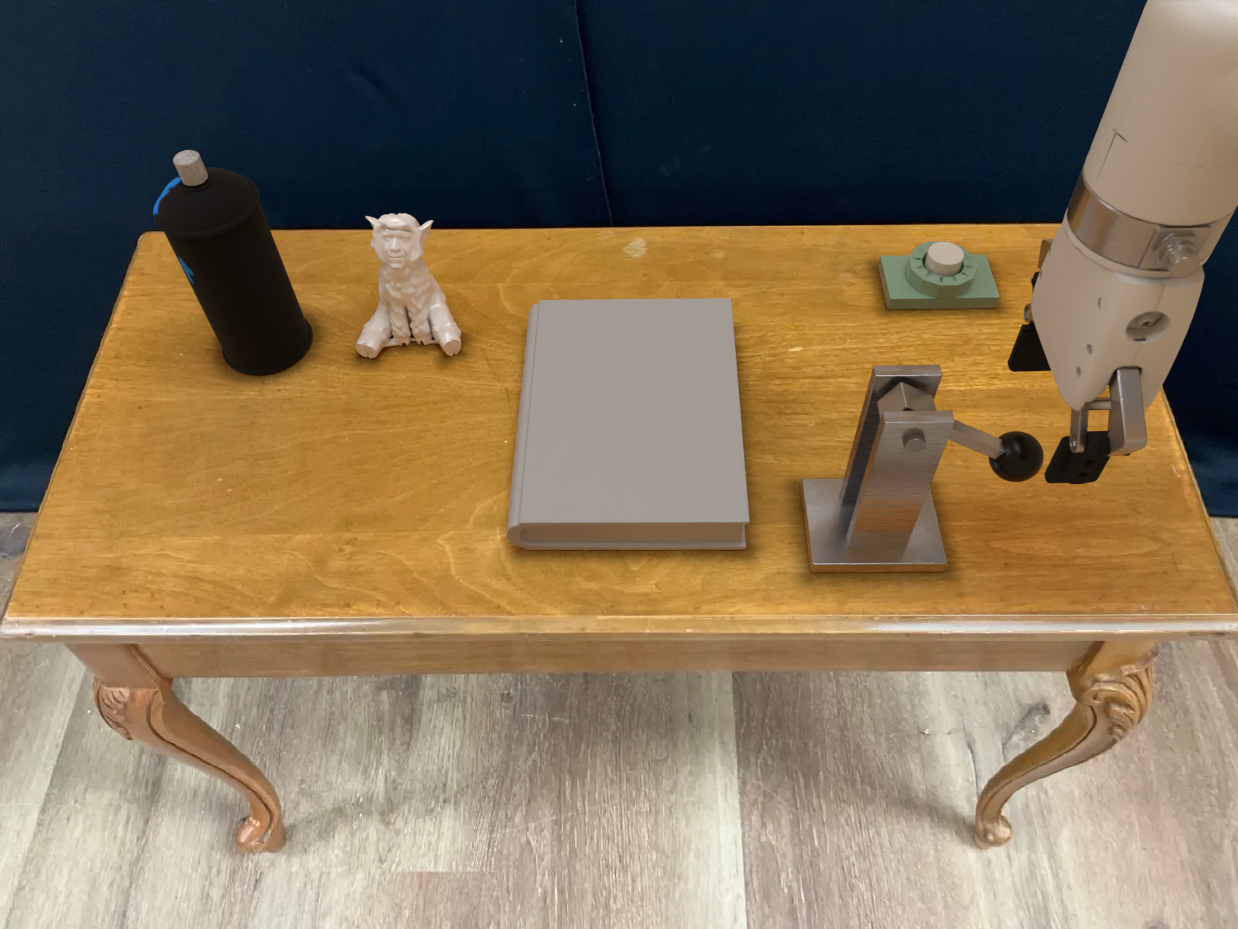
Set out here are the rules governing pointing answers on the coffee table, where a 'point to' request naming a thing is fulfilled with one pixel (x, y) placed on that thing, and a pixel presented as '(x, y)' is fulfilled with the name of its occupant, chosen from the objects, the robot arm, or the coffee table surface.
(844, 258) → the coffee table surface
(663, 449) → the book
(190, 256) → the aerosol can
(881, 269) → the green push button base
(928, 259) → the beige push button
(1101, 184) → the robot arm
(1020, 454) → the lever with ball knob
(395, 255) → the sitting furry creature
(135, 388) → the coffee table surface
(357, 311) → the coffee table surface
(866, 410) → the lever stand
